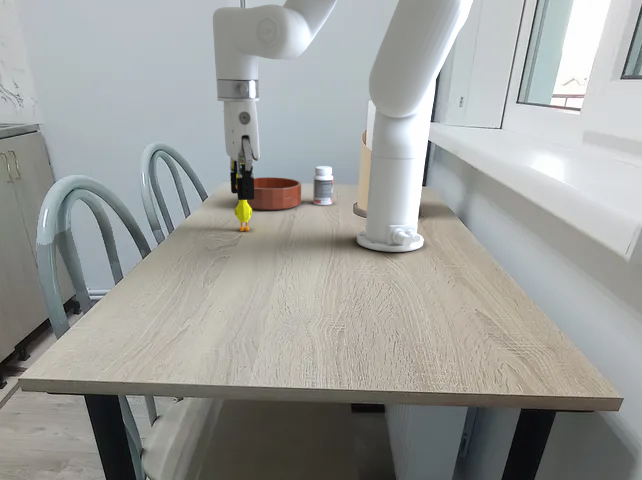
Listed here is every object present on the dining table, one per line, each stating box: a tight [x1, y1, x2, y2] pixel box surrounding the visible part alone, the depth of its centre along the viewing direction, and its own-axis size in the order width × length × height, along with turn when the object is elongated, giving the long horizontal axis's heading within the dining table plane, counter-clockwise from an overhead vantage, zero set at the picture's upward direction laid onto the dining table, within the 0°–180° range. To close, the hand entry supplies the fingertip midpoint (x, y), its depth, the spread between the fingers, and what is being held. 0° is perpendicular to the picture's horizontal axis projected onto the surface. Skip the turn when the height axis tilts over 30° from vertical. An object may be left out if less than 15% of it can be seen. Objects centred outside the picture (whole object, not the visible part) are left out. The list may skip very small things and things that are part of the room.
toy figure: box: [233, 167, 253, 232], centre depth 105 cm, size 7×4×12 cm, turn 7°
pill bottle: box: [312, 165, 334, 206], centre depth 128 cm, size 5×5×8 cm
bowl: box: [237, 176, 302, 211], centre depth 127 cm, size 15×15×5 cm
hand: (242, 195), depth 104 cm, fingers closed on toy figure, 5 cm apart
